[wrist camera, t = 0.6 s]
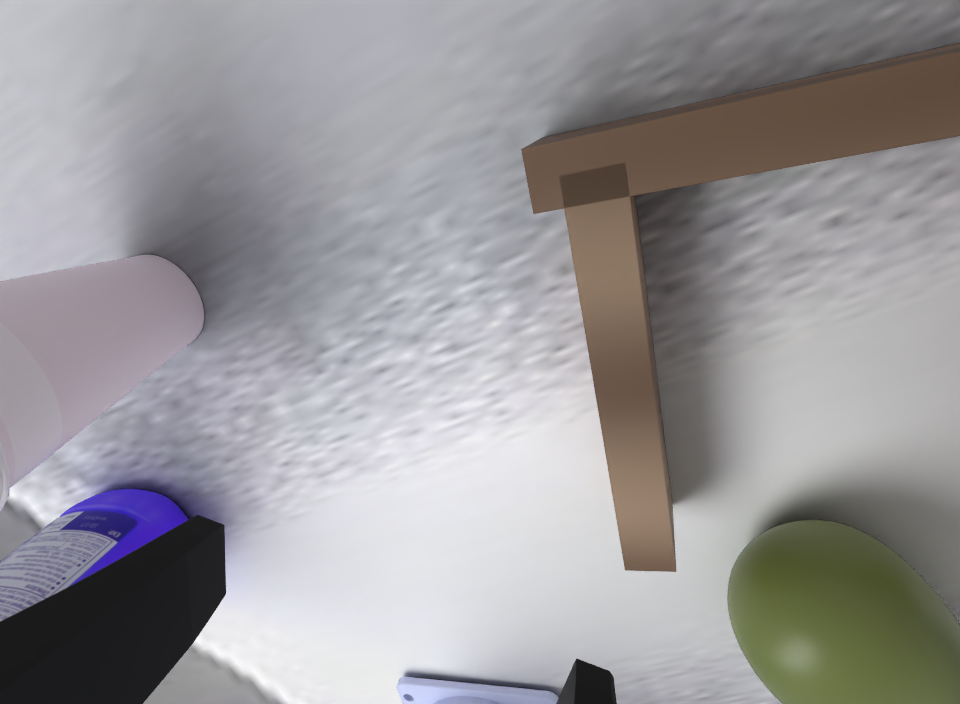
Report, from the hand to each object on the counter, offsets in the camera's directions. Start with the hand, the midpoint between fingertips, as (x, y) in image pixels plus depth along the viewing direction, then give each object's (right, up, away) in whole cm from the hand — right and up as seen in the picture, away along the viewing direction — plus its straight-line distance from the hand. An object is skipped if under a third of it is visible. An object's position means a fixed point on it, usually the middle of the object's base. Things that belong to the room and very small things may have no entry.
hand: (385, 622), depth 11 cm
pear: (+14, -3, +9) cm, 17 cm away
